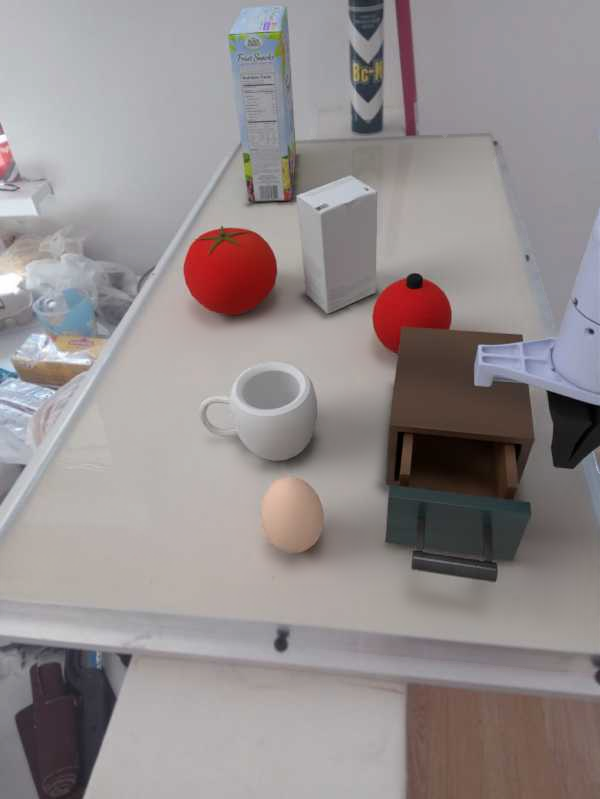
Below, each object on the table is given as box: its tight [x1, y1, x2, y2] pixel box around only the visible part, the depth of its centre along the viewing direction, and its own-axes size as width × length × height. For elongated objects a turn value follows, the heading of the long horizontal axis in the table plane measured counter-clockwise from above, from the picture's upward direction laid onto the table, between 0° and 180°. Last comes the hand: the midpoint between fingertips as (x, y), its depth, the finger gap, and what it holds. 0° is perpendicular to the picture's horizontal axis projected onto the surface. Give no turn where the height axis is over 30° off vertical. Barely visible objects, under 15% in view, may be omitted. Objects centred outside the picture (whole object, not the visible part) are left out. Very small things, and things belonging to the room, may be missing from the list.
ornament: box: [371, 272, 453, 355], centre depth 62 cm, size 9×9×10 cm
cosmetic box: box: [296, 174, 379, 315], centre depth 69 cm, size 8×6×15 cm
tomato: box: [182, 225, 278, 316], centre depth 72 cm, size 11×12×10 cm
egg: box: [260, 476, 325, 554], centre depth 45 cm, size 5×5×8 cm
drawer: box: [384, 432, 532, 583], centre depth 46 cm, size 17×10×7 cm, turn 168°
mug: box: [198, 361, 318, 462], centre depth 54 cm, size 12×8×8 cm
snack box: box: [227, 4, 297, 203], centre depth 95 cm, size 22×9×26 cm, turn 179°
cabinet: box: [385, 327, 536, 487], centre depth 52 cm, size 14×12×9 cm
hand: (562, 457), depth 40 cm, fingers closed
